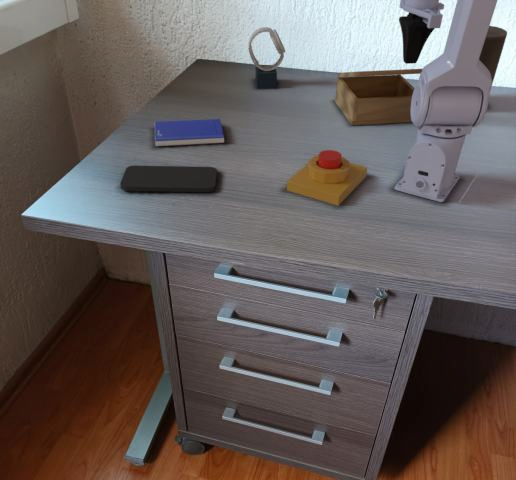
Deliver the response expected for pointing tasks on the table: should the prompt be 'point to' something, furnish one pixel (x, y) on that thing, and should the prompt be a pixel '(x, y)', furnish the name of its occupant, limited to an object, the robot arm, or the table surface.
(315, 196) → the button block
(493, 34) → the pillar candle
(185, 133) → the blue hardcover book
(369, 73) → the lid
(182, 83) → the table surface
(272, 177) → the table surface
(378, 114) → the chest
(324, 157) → the button
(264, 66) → the watch
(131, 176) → the phone
